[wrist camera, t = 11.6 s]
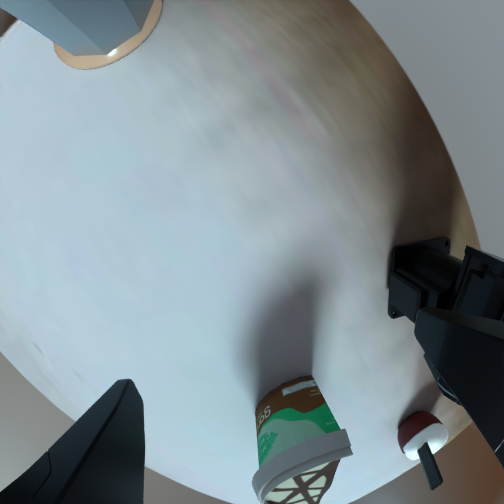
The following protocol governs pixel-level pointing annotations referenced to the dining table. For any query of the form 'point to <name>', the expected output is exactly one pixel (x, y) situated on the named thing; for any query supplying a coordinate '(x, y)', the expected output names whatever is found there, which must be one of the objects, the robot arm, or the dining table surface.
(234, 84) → the dining table surface
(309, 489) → the food container
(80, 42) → the blue-gray container
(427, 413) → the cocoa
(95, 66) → the terracotta coaster
